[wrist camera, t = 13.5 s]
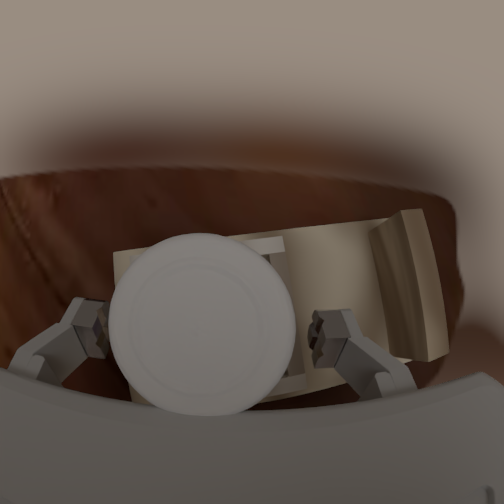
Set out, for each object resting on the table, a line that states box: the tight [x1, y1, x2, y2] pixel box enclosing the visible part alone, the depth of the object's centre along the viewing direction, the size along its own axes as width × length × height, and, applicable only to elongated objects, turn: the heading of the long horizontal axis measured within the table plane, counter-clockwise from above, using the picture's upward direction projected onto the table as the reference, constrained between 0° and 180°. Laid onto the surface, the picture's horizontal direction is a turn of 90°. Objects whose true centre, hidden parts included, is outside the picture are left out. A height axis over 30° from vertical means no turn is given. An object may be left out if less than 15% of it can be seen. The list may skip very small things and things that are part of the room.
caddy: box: [113, 209, 449, 405], centre depth 18 cm, size 22×12×6 cm, turn 99°
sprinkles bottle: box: [108, 233, 296, 416], centre depth 13 cm, size 5×5×14 cm
